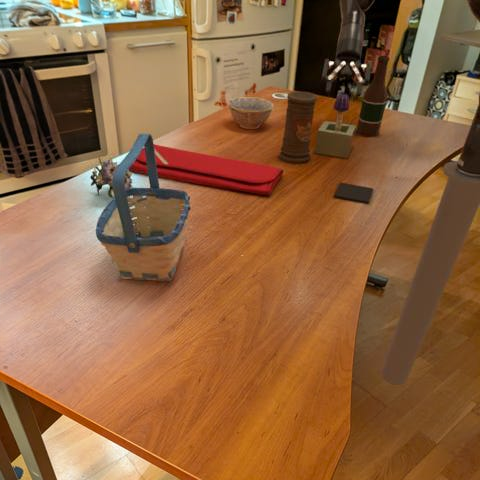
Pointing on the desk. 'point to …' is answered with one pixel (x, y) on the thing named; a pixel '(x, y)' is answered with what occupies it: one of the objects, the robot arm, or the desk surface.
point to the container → (298, 127)
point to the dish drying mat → (210, 170)
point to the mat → (353, 193)
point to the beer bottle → (374, 101)
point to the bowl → (250, 111)
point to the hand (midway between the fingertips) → (343, 95)
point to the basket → (144, 222)
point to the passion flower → (108, 176)
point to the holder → (335, 139)
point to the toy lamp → (341, 109)
